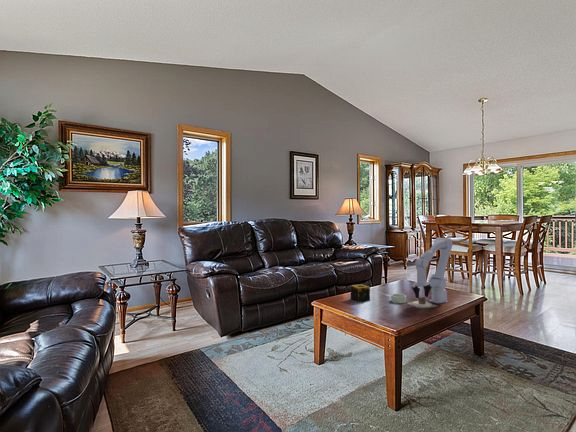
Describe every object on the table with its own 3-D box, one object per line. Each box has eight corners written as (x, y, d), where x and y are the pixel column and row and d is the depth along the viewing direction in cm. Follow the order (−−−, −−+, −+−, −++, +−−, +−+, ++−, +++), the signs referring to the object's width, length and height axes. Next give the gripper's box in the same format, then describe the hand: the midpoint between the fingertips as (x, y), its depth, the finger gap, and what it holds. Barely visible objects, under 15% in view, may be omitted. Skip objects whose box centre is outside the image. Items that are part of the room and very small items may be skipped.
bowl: (399, 299, 226) (399, 293, 226) (409, 303, 218) (409, 296, 218) (388, 301, 223) (388, 294, 223) (397, 304, 214) (397, 297, 214)
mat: (422, 301, 221) (422, 300, 221) (438, 306, 208) (438, 306, 208) (406, 303, 216) (406, 302, 216) (421, 309, 203) (421, 308, 203)
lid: (422, 301, 220) (422, 294, 220) (436, 305, 209) (436, 298, 209) (408, 303, 216) (408, 296, 216) (421, 307, 204) (421, 300, 204)
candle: (350, 299, 230) (349, 285, 230) (362, 297, 234) (362, 283, 234) (358, 302, 221) (357, 288, 221) (370, 301, 224) (370, 286, 224)
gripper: (417, 278, 206) (417, 299, 206) (434, 277, 211) (435, 297, 211) (409, 276, 212) (409, 297, 212) (426, 275, 217) (427, 295, 217)
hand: (421, 297), depth 212 cm, fingers open, 7 cm apart
